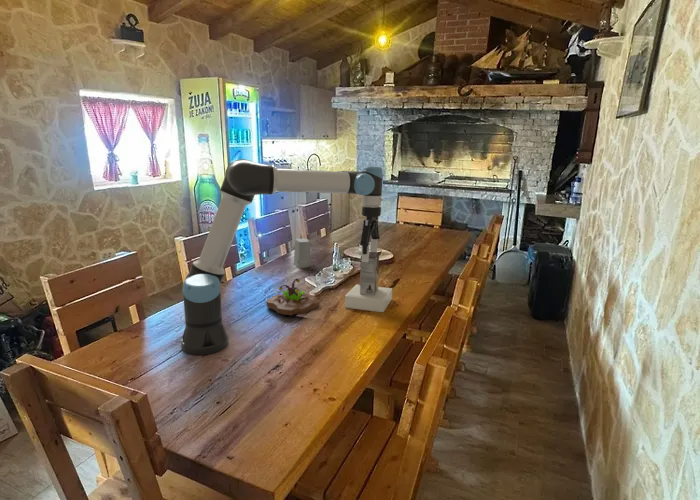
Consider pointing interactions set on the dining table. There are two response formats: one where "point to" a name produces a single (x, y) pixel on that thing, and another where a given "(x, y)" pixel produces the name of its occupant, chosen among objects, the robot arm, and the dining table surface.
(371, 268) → the coffee box
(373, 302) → the riser
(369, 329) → the dining table surface
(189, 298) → the robot arm
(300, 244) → the skincare box
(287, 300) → the plant
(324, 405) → the dining table surface
